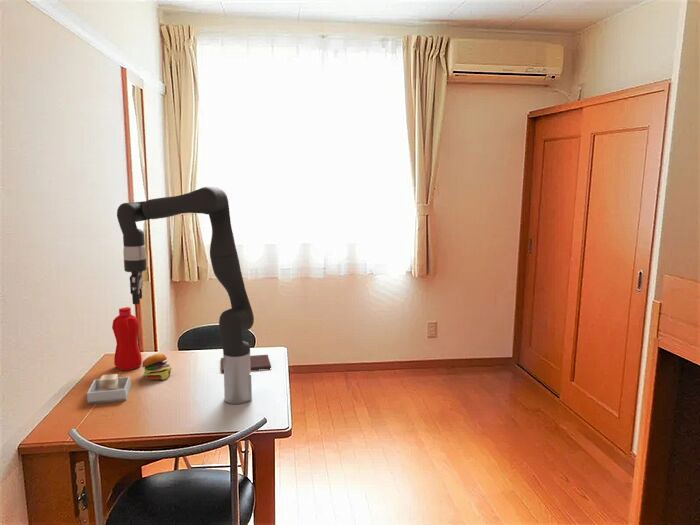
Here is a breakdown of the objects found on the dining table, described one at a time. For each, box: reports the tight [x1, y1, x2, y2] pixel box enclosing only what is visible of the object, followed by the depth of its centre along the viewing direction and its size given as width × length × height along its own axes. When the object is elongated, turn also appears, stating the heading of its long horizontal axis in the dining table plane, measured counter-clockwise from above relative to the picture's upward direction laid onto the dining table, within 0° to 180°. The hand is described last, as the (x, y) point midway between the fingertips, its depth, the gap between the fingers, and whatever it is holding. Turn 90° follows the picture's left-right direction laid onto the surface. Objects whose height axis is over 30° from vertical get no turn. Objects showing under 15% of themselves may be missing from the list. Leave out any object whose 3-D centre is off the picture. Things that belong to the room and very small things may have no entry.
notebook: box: [220, 354, 272, 374], centre depth 214 cm, size 15×20×2 cm
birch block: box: [99, 373, 119, 391], centre depth 183 cm, size 5×5×6 cm
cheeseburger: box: [141, 353, 173, 381], centre depth 200 cm, size 10×11×10 cm
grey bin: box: [86, 376, 132, 405], centre depth 183 cm, size 12×12×4 cm
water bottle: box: [111, 306, 143, 371], centre depth 208 cm, size 9×11×25 cm
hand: (137, 301), depth 188 cm, fingers open, 8 cm apart
